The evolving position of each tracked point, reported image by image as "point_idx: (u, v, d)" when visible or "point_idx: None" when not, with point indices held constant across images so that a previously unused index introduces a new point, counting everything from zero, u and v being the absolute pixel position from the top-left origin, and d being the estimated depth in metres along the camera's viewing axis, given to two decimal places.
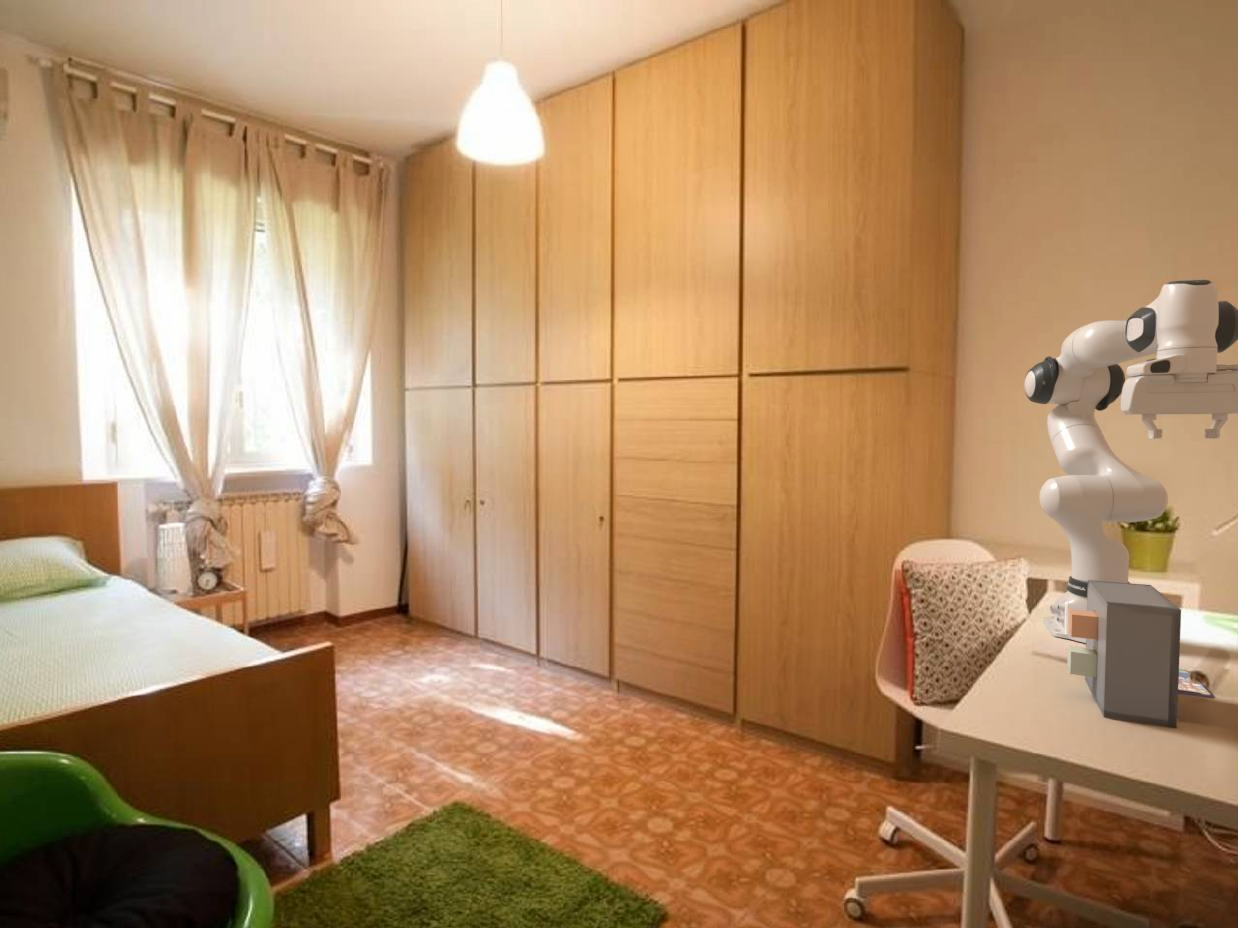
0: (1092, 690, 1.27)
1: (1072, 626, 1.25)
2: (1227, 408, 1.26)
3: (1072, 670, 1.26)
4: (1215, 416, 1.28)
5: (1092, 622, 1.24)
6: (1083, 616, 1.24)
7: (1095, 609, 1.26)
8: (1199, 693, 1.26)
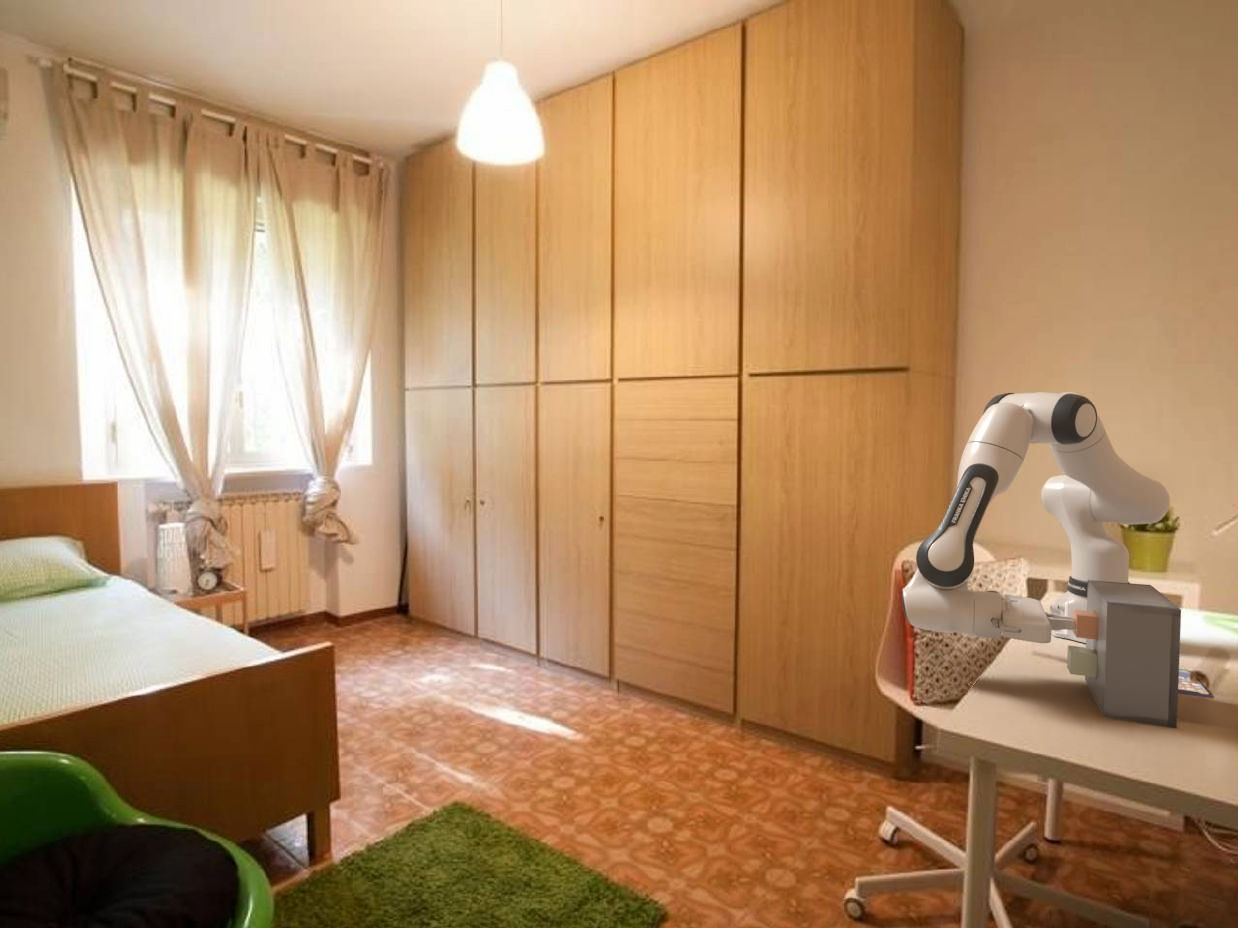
0: (1092, 690, 1.27)
1: (1077, 627, 1.25)
2: None
3: (1072, 670, 1.26)
4: None
5: (1097, 623, 1.23)
6: (1088, 617, 1.24)
7: (1095, 609, 1.26)
8: (1197, 693, 1.27)
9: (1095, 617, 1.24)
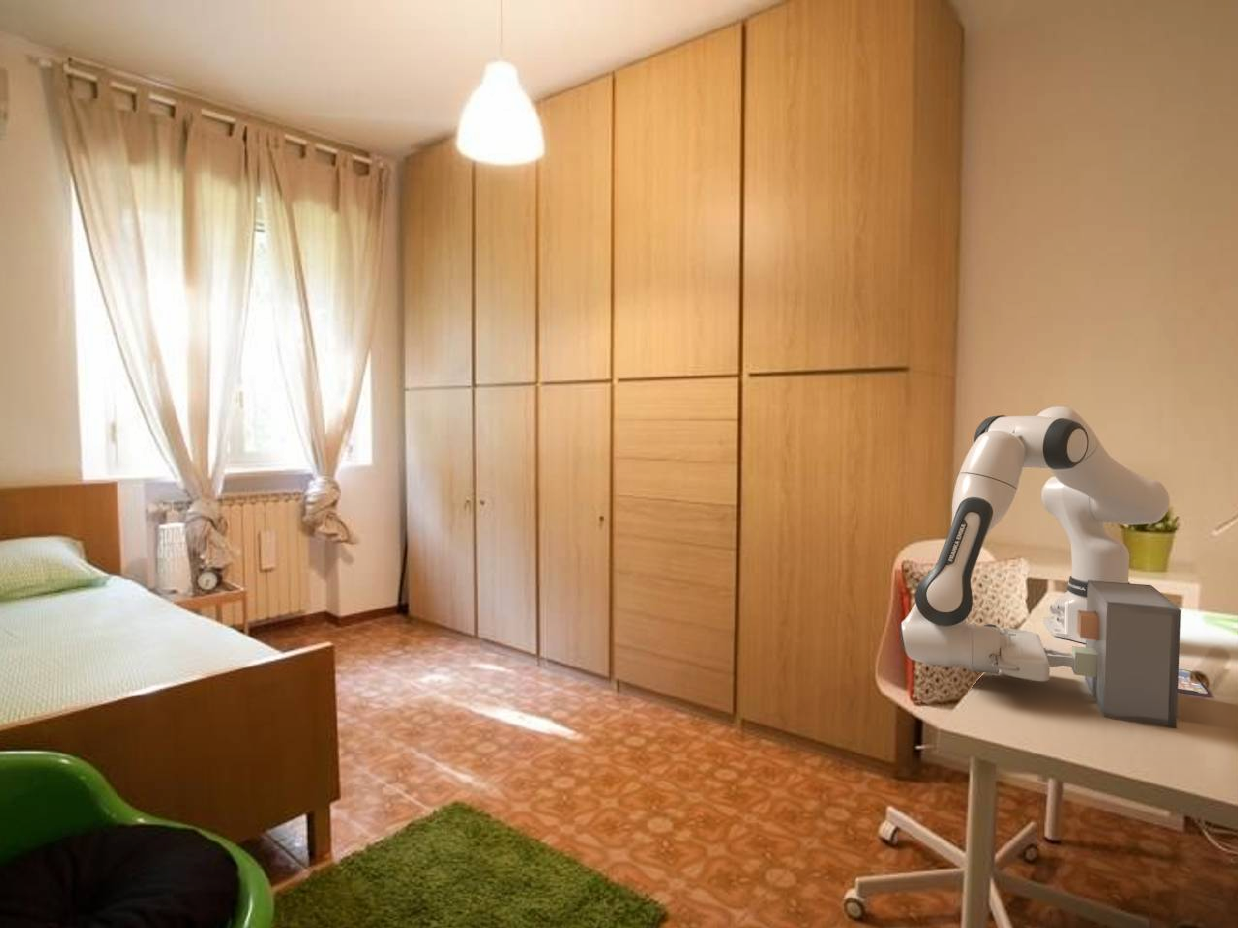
0: (1092, 690, 1.27)
1: (1081, 627, 1.25)
2: None
3: (1076, 671, 1.25)
4: None
5: None
6: (1092, 617, 1.24)
7: (1095, 609, 1.26)
8: (1196, 692, 1.27)
9: None
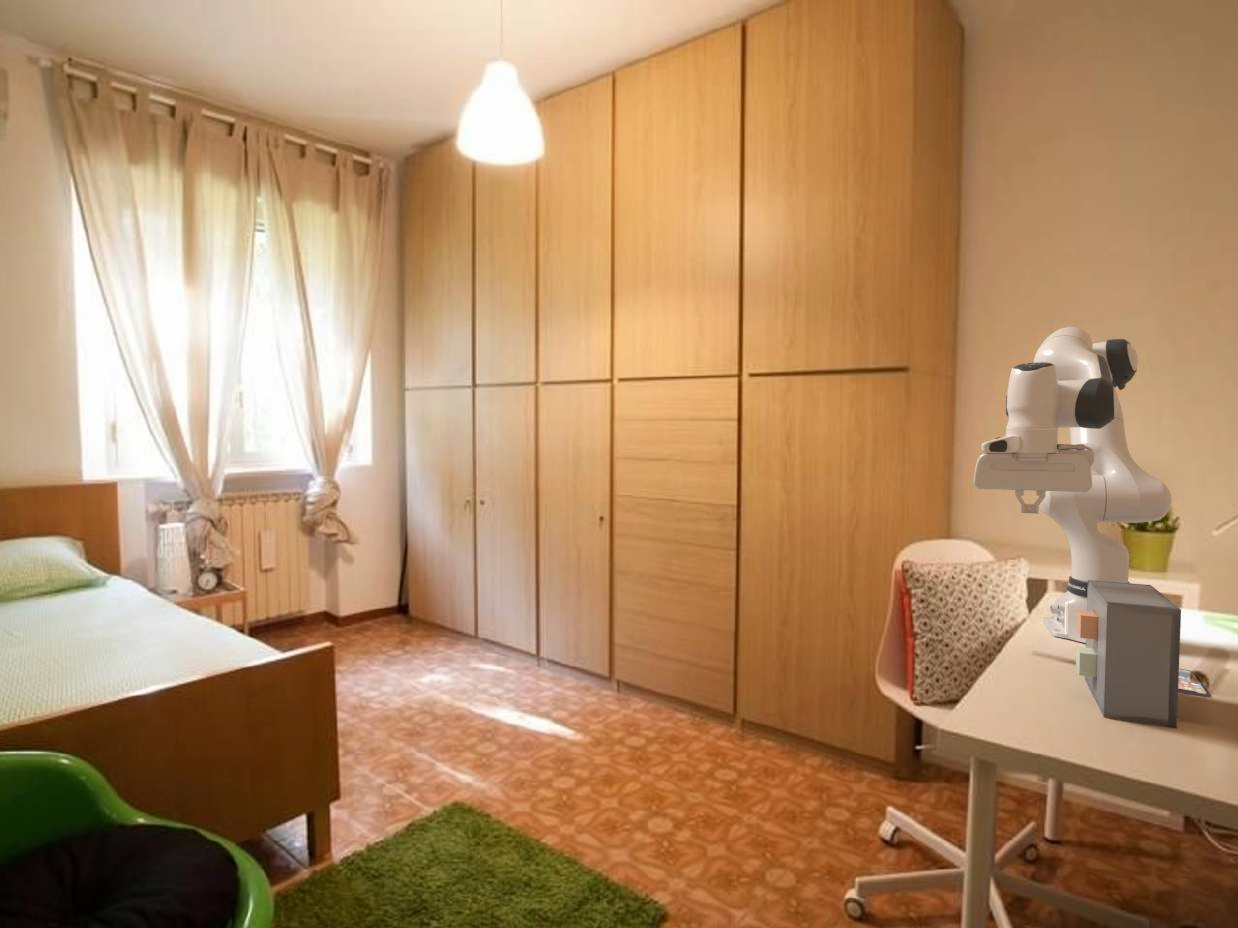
0: (1092, 690, 1.27)
1: (1081, 627, 1.25)
2: (1066, 486, 1.31)
3: (1081, 671, 1.25)
4: (1036, 492, 1.35)
5: None
6: (1092, 617, 1.24)
7: (1095, 609, 1.26)
8: (1195, 692, 1.27)
9: None
